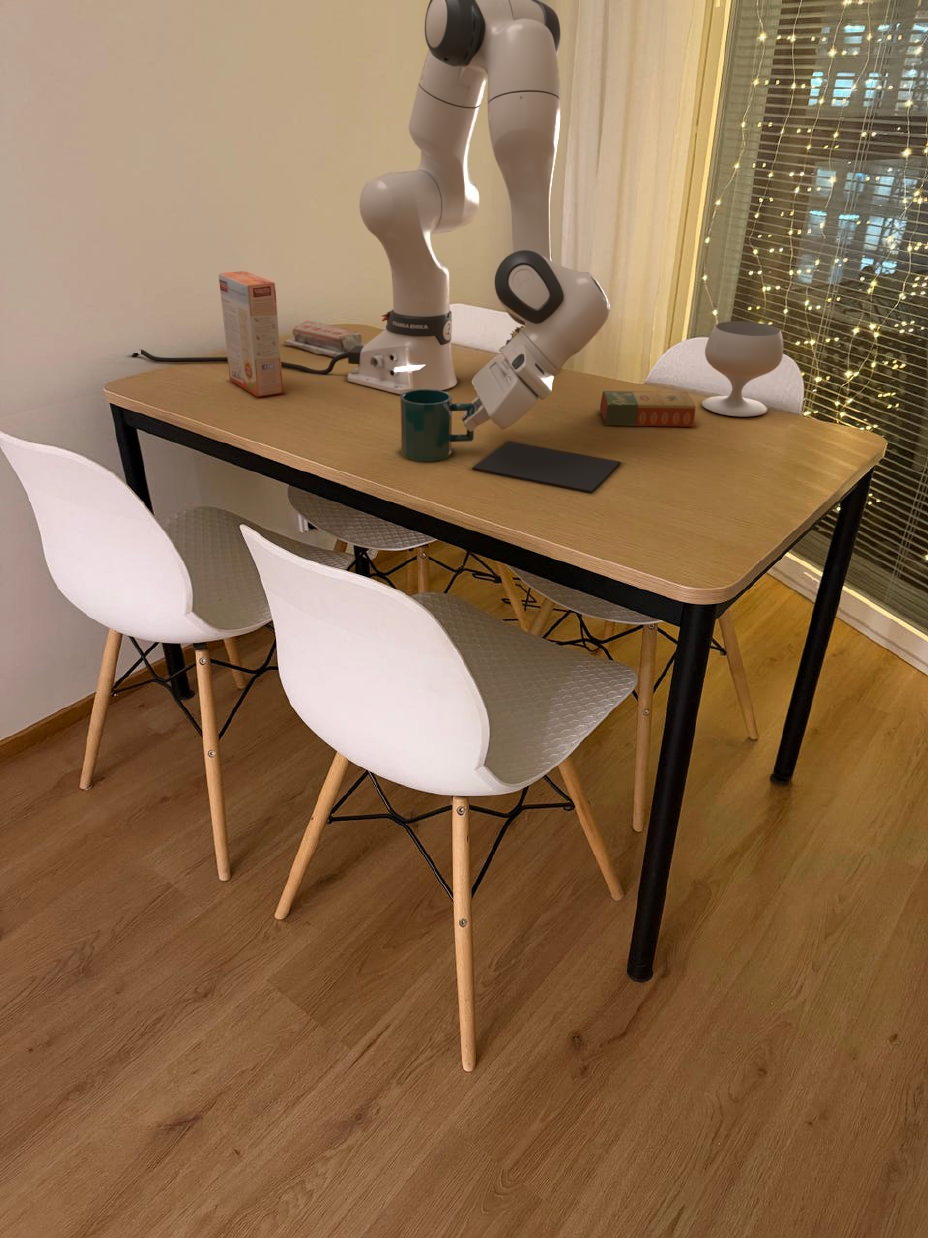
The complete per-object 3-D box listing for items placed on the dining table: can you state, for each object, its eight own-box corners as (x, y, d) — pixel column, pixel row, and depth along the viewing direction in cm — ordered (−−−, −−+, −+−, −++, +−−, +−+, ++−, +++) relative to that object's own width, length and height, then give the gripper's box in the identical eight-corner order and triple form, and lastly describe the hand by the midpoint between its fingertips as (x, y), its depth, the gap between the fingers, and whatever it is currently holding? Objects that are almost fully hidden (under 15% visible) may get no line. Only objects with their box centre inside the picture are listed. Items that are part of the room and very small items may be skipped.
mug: (403, 462, 147) (402, 405, 142) (399, 445, 154) (398, 389, 149) (477, 460, 148) (478, 402, 143) (469, 442, 155) (471, 387, 150)
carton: (693, 428, 164) (696, 404, 162) (604, 425, 164) (606, 402, 162) (685, 413, 171) (688, 390, 169) (599, 411, 171) (601, 388, 169)
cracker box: (285, 393, 177) (276, 281, 167) (256, 398, 174) (245, 284, 164) (256, 376, 187) (246, 269, 176) (228, 380, 184) (216, 271, 173)
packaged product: (369, 329, 203) (336, 337, 197) (369, 351, 206) (337, 360, 199) (314, 316, 213) (281, 324, 206) (315, 337, 216) (283, 345, 209)
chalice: (727, 423, 166) (741, 340, 159) (682, 401, 177) (693, 322, 170) (787, 415, 171) (804, 334, 164) (740, 394, 182) (753, 317, 175)
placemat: (472, 469, 145) (472, 467, 144) (508, 443, 155) (508, 440, 155) (591, 493, 137) (591, 490, 137) (620, 463, 148) (620, 461, 148)
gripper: (502, 334, 153) (444, 393, 157) (526, 367, 135) (460, 432, 139) (527, 360, 156) (469, 417, 159) (553, 396, 138) (488, 459, 142)
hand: (465, 424), depth 149 cm, fingers closed on mug
